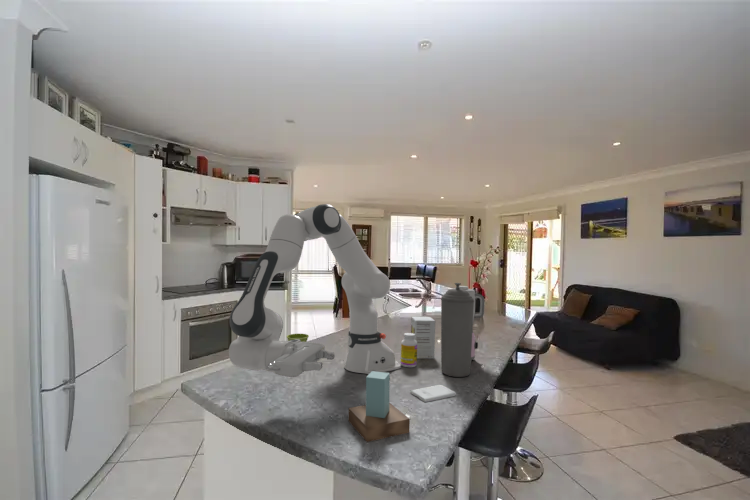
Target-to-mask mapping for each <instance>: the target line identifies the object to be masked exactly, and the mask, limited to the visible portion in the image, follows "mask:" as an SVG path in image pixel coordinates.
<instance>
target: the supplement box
mask: <svg viewBox="0 0 750 500" xmlns="http://www.w3.org/2000/svg"><path fill="white" fill-rule="evenodd" d="M410 333H413V334H415V340H416V341H417V359H435V349H436V347H435V344H436V320H435V319H433V317H431V316H411V319H410Z"/></svg>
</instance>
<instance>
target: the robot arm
mask: <svg viewBox="0 0 750 500" xmlns="http://www.w3.org/2000/svg"><path fill="white" fill-rule="evenodd" d="M321 237H322V238H324V240H325V242H326V243H327V246H328V248H329V250H330V252H331V254H332V255H333V257H334V259H335V261H336V262H337V264H338V266H339V267H340V268H341V269H343V270H344V271H345V272H344V273H343V275H342V277H341V286H342V288H343V290H344V292H345V295H346V298H347V304H348V309H349V331H348V334H347V335H348V336H347V346H348V349H347V356H346V360H345V364H344V369H345V370H347V371H349V372H353V373H359V374H365V375H369V374H370V373H371V372H372V371H375V372H385V373H388V372H390V371H395V370H399V369H401V368H402V365H401V362H399V361H397V360H396V355H395V352H394V350H393V349H391V347H389V346H388V345H387V344H386V343H385V342H383V341H382V339H383V340H385V339H386V337H387V335H386V334H385V333H381V332H379V331H378V323H379V322H378V320H379V318H378V315H379V314H378V311H377V309H376V307H375V305H374V303H373V300H376V299H382V298H384V297H386V296H387V294H388V293H389V291H390V289H391V280H390V279H389V277H388V276H387V275H386V274H385V273H383V272H382V271H381V270H380V269H379V268H378V267H377V265H376V264H375V263H374V262H373V260H371V258H370V257H369V256H368V255H367V253H366V252H365V250H364V249H363V247H362V245H361V243H360V242H359V239H358V237H357V235H356V234H355V231H354V230H353V228H352V227H351V225H350V224H349V223H348V221H347V220H346V218H344V216H343V215H341V214H340V212H339V211H338V210H337V208H335V206H333V205H331V204H329V203H324V204H323V203H322V204H318V205H315V206H311V207H308V208H306V209H304V210H301V211H300V212H297V213H295V214H291V213H290V214H289V213H288V214H284V215H282V216H280V217H279V218H278V220H277V222H276V223H275V226H274V227H273V230H272V232H271V234H270V237H269V241H268V244H267V247H266V248H265V251H264V252H263V253H262V254H260V256H259V258H258V259H257V261H256V263H255V265H254V267H253V268H252V269H253V270H252V271H251V274H250V276H249V278H248V281H247V283H246V286H245V287H244V289H243V292H242V294H241V297H240V298H239V300H238V301H237V302H236V303H235V305H234V306H233V309H232V310H231V312H230V315H229V327H230V329H231V331H232V332H233V333H234V334H235V335H236V336H238V337H237V338H235V339H234V340H232V341H231V343H230V344H229V348H228V358H229V360H230V363H231V364H232V365H233V366H235V367H236V368H239V369H242V370H249V371H255V372H256V371H257V372H258V371H262V370H263V371H265V372H269V373H274V374H275V375H277V376H280V377H281V376H282V377H288V378H296V377H299V376H300V375H301V374H303V373H304V372H311V371H320V370H322V369H323V362H321V361H320V360H321V359H326V360H327V361H333V360H334V359H335V358H336V357H335V352H332V351H328V350H326V347H325V345H324V344H323V343H318V342H311V341H307V342H301V340H299V339H295V340H290V341H288V340H280V338H281V334H282V331H283V328H284V322H283V319H282V318H283V317H281V315H280V314H279V313H277V312H276V311H274V310H272V309H271V308H267V307H266V306H265V299H266V296H267V294H268V292H269V290H270V289H269V288H270V286H271V284H272V281H273V279H274V277H275V276H277V274H280V273H282V274H283V273H288V272H291V271H293V270H294V269H295V268H296V267H297V266H298V265H299V262H300V260H301V257H302V253H303V249H304V245H305V242H307V241H311V240H317V239H319V238H321Z"/></svg>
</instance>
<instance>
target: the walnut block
mask: <svg viewBox="0 0 750 500" xmlns="http://www.w3.org/2000/svg"><path fill="white" fill-rule="evenodd" d="M347 416H348V422H349V424H350V425H351V426H352V427H353V428H354V429H355V430H356V431H357V433H358V434H359V435H360V436H361V438H362V439H363V440H364V441H365V442H366V443H369V442H374V441H379V440H383V439H387V438H391V436H392V437H396V436H400V435H404V434H409V433H410V427H411V426H410V423H411V421H410V420H411V419H410V417H408V415H406V414H404V413H403V412H402V411H401V410H399V408H398V407H395V405H393V404H392V403H390V402H389V412H388V413H387V415H386V417H385V418H378V417H372V416H366V404H364V405H359V406H357V405H356V406H352V407H349V408H348V415H347Z"/></svg>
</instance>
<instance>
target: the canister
mask: <svg viewBox="0 0 750 500" xmlns="http://www.w3.org/2000/svg"><path fill="white" fill-rule="evenodd" d="M454 285H455V288H456V289H452V288H449V289H450V290H448V289H447V291H446V292H445V293H444V294H443V295H442V296H441V298H440V301H441V304H440V305H441V308H440V311H441V313H440V314H441V316H440V317H441V320H440V321H441V322H440V323H441V325H440V327H441V328H440V338H441V339H440V340H441V342H440V344H441V345H440V346H441V349H440V353H441V354H440V356H441V361H440V362H441V364H440V366H441V368H440V371H441V372H442V373H443V374H444V375H446V376H450V377H455V378H465V377H468V376H469V375H470V373H471V365H472V364H471V363H472V360H471V348H472V329H474V327H473V325H474V322H473V308H474V299H473V298H472V296H471V295H470V294H469V293H468V292H467V291H466V290H462V289H460V288H459V286H462V283H460V282H454Z"/></svg>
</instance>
